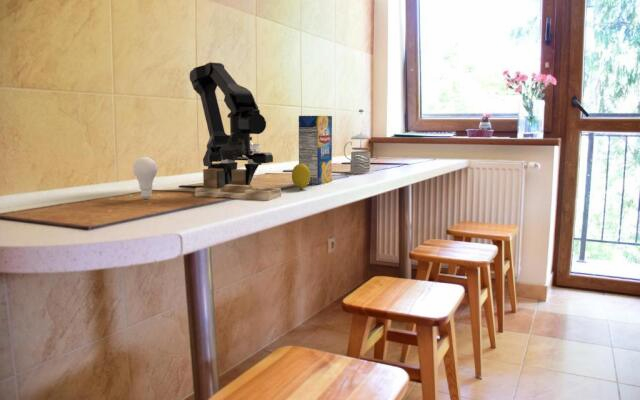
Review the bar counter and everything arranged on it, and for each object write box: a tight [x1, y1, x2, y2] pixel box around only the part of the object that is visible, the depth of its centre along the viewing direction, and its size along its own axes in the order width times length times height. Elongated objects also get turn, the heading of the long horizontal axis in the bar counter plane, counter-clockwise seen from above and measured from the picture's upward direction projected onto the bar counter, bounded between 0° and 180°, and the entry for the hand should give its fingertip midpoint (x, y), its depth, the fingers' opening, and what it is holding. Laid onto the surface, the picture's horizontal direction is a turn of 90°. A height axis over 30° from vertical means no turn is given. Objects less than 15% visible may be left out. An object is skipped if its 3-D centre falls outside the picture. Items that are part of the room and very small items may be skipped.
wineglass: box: [245, 143, 261, 179], centre depth 198 cm, size 7×7×12 cm
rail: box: [194, 168, 282, 201], centre depth 148 cm, size 22×8×7 cm, turn 70°
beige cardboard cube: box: [231, 168, 246, 185], centre depth 163 cm, size 5×4×6 cm
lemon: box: [291, 162, 310, 190], centre depth 164 cm, size 6×6×8 cm
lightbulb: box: [132, 156, 158, 200], centre depth 143 cm, size 6×6×11 cm
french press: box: [343, 108, 373, 175], centre depth 218 cm, size 10×12×25 cm
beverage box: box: [298, 115, 333, 186], centre depth 181 cm, size 7×11×22 cm, turn 154°
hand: (241, 186), depth 163 cm, fingers closed on beige cardboard cube, 4 cm apart
